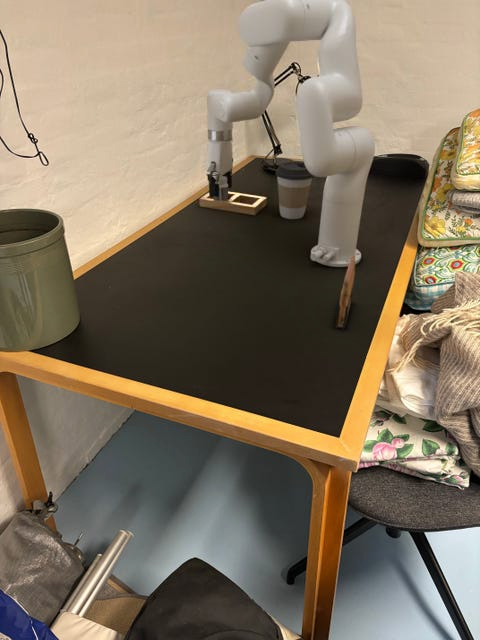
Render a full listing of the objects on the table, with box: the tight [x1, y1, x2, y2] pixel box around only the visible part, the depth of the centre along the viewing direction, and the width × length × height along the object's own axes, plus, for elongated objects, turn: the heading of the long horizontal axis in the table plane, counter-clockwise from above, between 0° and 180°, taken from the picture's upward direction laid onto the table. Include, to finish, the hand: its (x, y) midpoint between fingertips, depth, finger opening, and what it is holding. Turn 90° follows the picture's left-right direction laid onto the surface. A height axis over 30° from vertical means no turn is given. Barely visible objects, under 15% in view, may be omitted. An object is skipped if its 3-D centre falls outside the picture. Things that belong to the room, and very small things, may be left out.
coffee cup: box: [275, 160, 315, 220], centre depth 149 cm, size 11×11×15 cm
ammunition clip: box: [335, 254, 356, 330], centre depth 101 cm, size 11×2×12 cm, turn 163°
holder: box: [198, 191, 268, 216], centre depth 159 cm, size 10×19×2 cm, turn 67°
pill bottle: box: [214, 176, 229, 201], centre depth 159 cm, size 5×5×8 cm
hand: (220, 191), depth 159 cm, fingers open, 9 cm apart
